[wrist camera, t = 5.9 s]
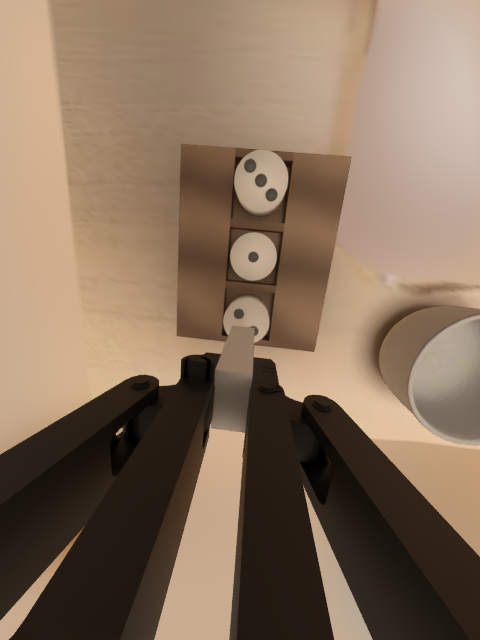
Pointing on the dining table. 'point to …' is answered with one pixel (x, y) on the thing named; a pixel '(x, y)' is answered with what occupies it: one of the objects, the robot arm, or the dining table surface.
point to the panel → (279, 226)
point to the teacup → (437, 370)
